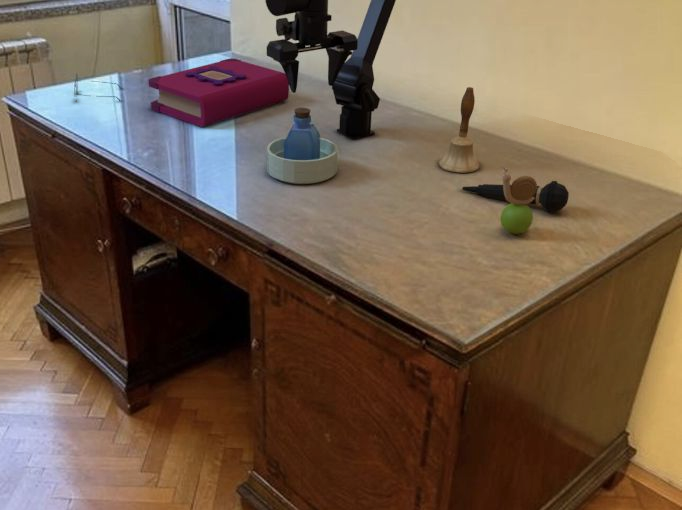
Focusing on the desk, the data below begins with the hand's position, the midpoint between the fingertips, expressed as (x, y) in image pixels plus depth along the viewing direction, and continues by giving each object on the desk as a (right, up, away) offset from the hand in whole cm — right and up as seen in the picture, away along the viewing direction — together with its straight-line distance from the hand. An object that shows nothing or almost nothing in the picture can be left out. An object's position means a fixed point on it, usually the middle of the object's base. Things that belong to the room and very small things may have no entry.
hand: (312, 88), depth 160 cm
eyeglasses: (-54, +11, +37) cm, 67 cm away
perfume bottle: (-2, -17, -3) cm, 18 cm away
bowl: (-2, -18, -3) cm, 18 cm away
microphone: (+38, -26, -14) cm, 48 cm away
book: (-22, +6, +32) cm, 39 cm away
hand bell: (+31, -16, 0) cm, 35 cm away
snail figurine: (+35, -34, -25) cm, 54 cm away
